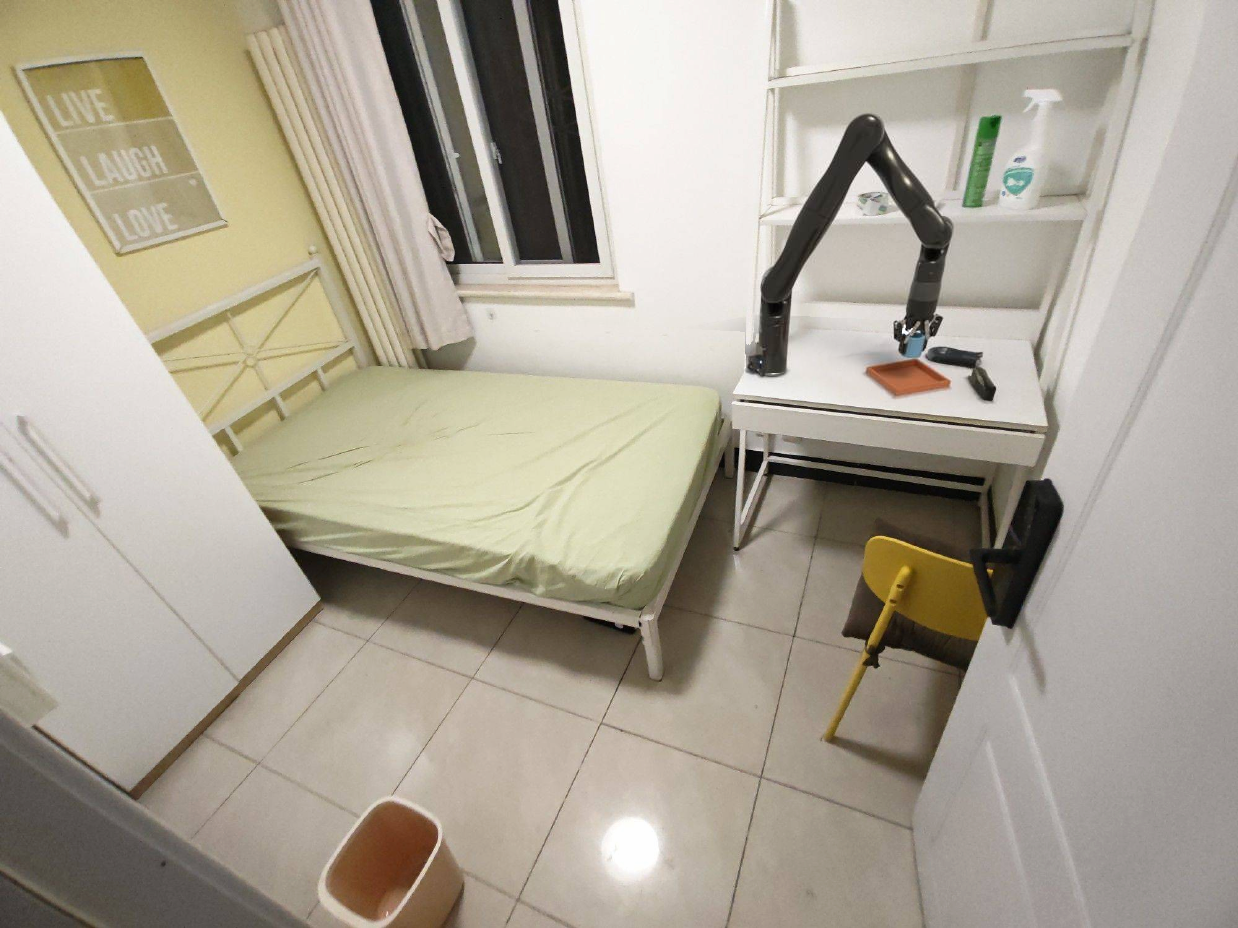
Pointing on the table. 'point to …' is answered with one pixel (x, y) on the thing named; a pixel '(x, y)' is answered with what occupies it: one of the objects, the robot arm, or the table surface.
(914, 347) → the blue hollow tube
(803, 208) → the robot arm
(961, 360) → the electronic device
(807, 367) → the table surface
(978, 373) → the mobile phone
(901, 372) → the tray
